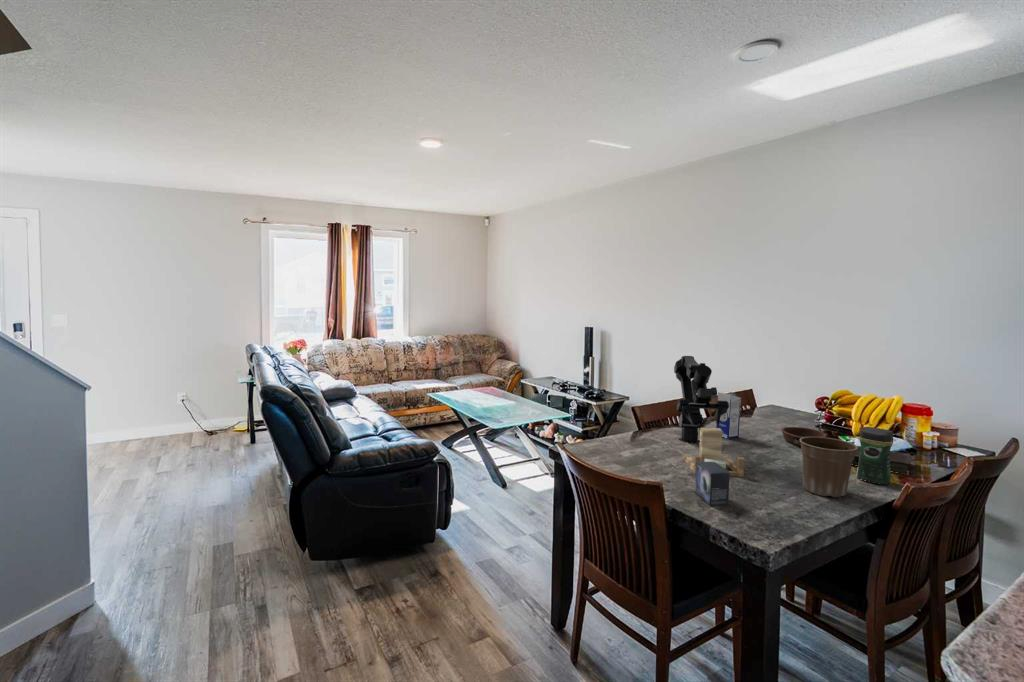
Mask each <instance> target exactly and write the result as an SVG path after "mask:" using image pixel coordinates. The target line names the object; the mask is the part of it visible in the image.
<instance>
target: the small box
mask: <svg viewBox="0 0 1024 682" xmlns="http://www.w3.org/2000/svg"><path fill="white" fill-rule="evenodd" d="M727 470H728V469H727ZM727 470H726V469H724V468H723V467H721V466H720V465H719V464H717V463H716V462H714V461H712V462H697V466H696V475H695V494H696V495H697V496H699V498H701V500H702V501H704V502H705V503H706V504H707V505H708V506H709V507H718V506H719V507H720V506H723V507H724V506H726V507H727V506H729V505H730V500H729V499H730V498H729V494H730V478H731V476H730V472H728V471H729V470H728V471H727Z"/></svg>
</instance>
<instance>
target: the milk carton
mask: <svg viewBox="0 0 1024 682" xmlns="http://www.w3.org/2000/svg"><path fill="white" fill-rule="evenodd" d="M717 400H721V401H727V402H728V403H729V408H728V410H727V412H726V413H725V414H723V415H721V417H720V422H719V426H717V424H716V425H715V427H716V428H720V429H721V430H722V431H723V433H722V437H724V438H723V439H725V438H727V439H726V440H729V439H728V438H734V439H737V438H736V437H740V436H739V435H740V421H741V403H742V397H739V396H737V394H736V393H734V392H728V393H724V392H720V391H719V392H718V391H717Z"/></svg>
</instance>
